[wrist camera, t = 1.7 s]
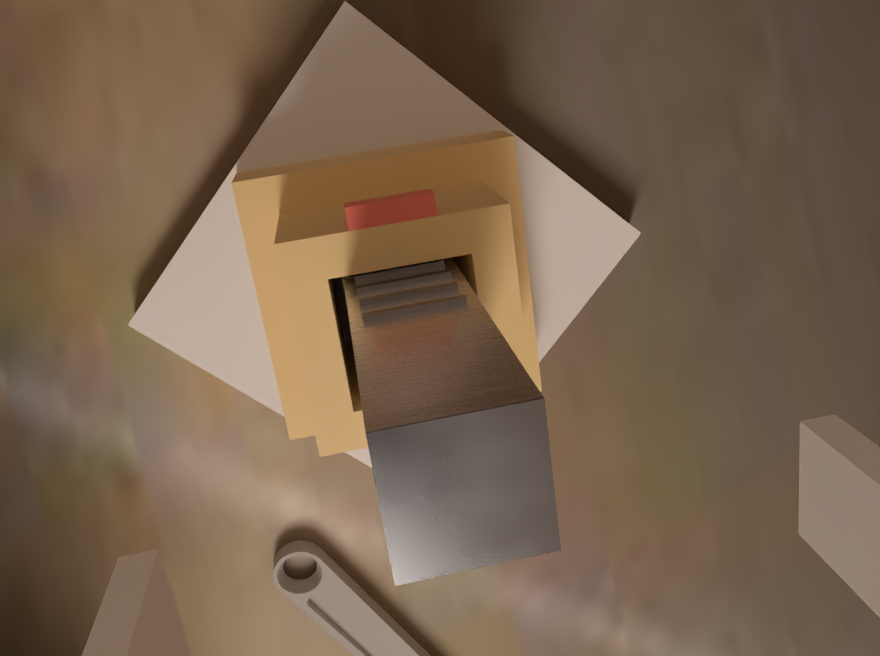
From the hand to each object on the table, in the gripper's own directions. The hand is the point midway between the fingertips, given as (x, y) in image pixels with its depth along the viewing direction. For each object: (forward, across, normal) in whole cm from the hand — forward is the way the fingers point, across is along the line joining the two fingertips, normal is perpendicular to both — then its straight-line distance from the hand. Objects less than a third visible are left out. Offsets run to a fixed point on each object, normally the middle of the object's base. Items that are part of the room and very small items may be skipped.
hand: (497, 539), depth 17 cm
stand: (+22, 0, 0) cm, 22 cm away
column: (+20, 0, 0) cm, 20 cm away
